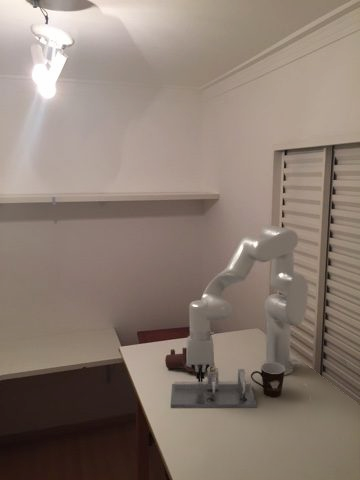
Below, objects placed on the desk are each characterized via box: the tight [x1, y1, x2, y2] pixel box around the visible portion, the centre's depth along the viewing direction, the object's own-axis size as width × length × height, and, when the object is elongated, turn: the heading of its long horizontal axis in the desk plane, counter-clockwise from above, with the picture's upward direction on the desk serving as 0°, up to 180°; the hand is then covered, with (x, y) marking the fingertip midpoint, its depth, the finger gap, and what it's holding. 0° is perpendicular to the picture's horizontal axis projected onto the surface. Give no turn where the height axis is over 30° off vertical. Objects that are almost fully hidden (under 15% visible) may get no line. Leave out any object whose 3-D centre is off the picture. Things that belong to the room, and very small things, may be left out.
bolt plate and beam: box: [170, 368, 257, 409], centre depth 154 cm, size 30×14×8 cm, turn 88°
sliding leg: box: [206, 366, 219, 399], centre depth 155 cm, size 4×10×8 cm, turn 179°
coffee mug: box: [250, 362, 285, 399], centre depth 157 cm, size 12×9×10 cm
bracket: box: [164, 346, 207, 373], centre depth 175 cm, size 6×17×10 cm, turn 74°
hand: (200, 380), depth 158 cm, fingers closed
